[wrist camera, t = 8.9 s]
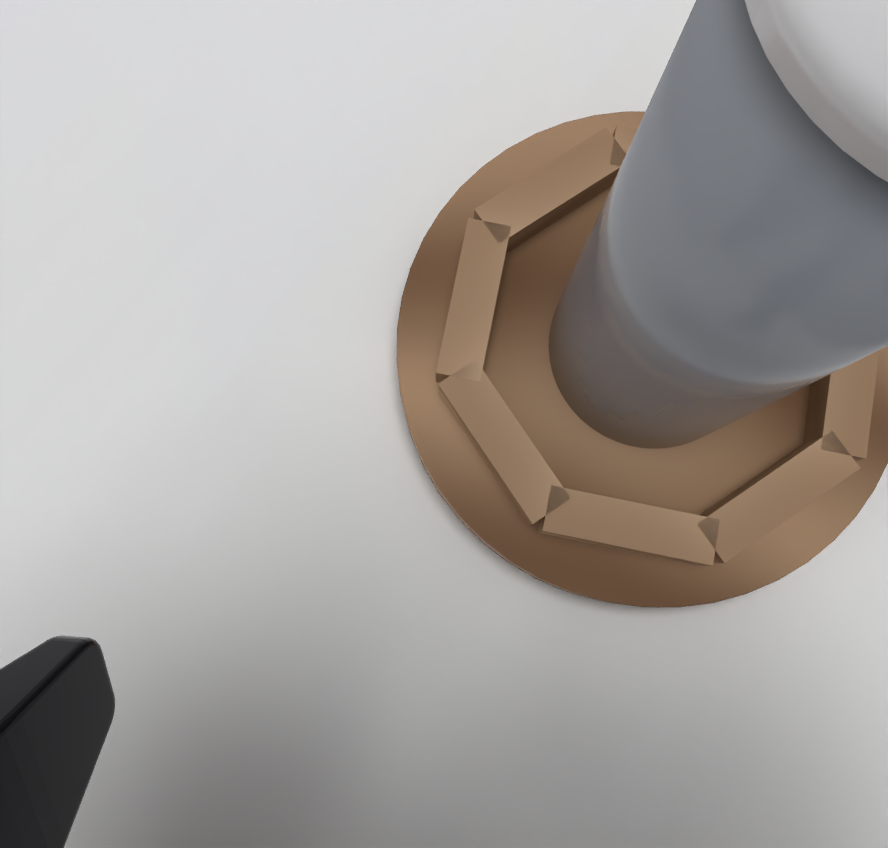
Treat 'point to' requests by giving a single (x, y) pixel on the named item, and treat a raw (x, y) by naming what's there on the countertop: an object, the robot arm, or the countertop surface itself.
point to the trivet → (582, 448)
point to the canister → (737, 226)
